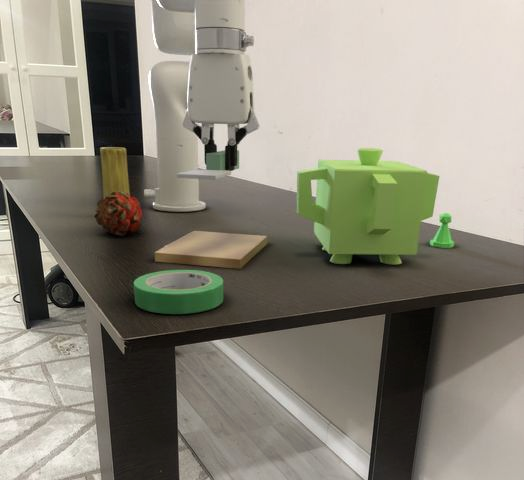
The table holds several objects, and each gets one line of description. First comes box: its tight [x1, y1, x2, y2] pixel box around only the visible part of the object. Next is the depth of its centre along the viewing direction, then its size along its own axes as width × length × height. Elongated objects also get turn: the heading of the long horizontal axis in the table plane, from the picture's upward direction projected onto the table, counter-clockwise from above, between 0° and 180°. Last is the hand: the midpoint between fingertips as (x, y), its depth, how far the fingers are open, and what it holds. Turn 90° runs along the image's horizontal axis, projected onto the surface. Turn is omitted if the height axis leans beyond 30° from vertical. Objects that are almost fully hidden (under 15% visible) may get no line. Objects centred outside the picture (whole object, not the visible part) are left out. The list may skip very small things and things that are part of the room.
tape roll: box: [133, 269, 224, 315], centre depth 71 cm, size 11×11×3 cm
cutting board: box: [154, 230, 268, 270], centre depth 95 cm, size 14×18×2 cm
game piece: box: [429, 212, 455, 249], centre depth 103 cm, size 4×4×6 cm
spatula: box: [177, 149, 240, 181], centre depth 90 cm, size 19×6×3 cm, turn 166°
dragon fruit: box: [94, 191, 143, 236], centre depth 107 cm, size 8×8×12 cm
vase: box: [99, 146, 131, 199], centre depth 120 cm, size 6×6×14 cm
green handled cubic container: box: [296, 147, 440, 265], centre depth 92 cm, size 25×23×17 cm
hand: (221, 169), depth 93 cm, fingers closed on spatula, 2 cm apart
